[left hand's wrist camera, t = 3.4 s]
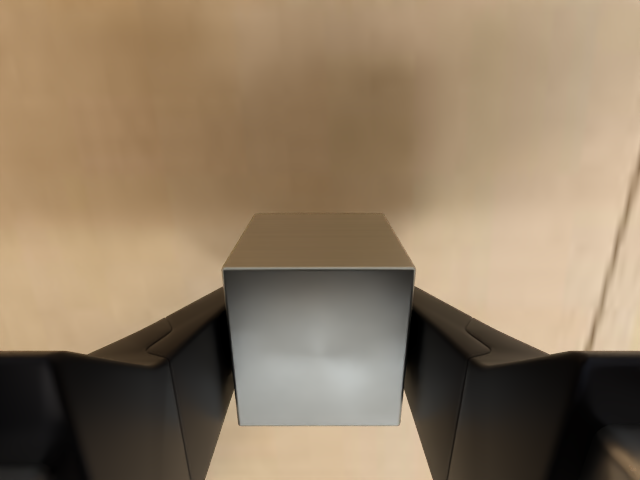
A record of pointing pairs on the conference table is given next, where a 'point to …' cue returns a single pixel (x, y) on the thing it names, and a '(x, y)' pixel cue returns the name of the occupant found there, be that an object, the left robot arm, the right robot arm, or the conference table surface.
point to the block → (318, 320)
